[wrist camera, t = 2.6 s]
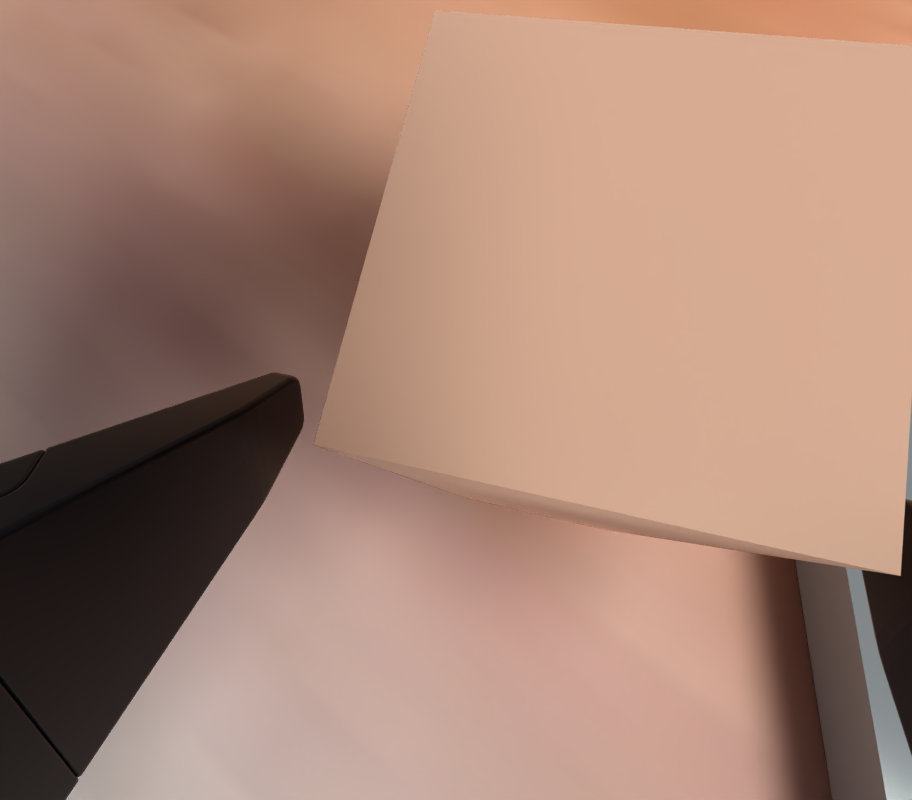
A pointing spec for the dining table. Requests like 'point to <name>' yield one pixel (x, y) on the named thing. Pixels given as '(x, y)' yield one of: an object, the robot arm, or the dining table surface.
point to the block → (646, 285)
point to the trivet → (853, 684)
